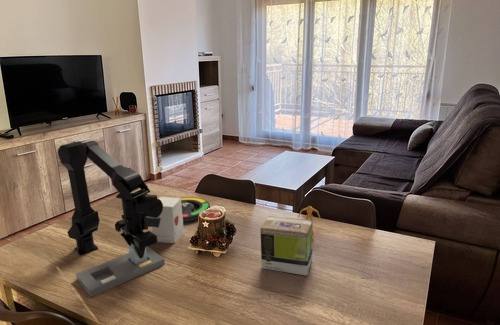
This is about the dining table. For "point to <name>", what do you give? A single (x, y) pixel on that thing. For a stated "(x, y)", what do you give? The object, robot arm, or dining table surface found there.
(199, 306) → the dining table surface
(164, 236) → the supplement box
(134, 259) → the plug
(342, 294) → the dining table surface
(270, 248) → the tea box
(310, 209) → the figurine
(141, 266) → the panel
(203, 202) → the electronic game
